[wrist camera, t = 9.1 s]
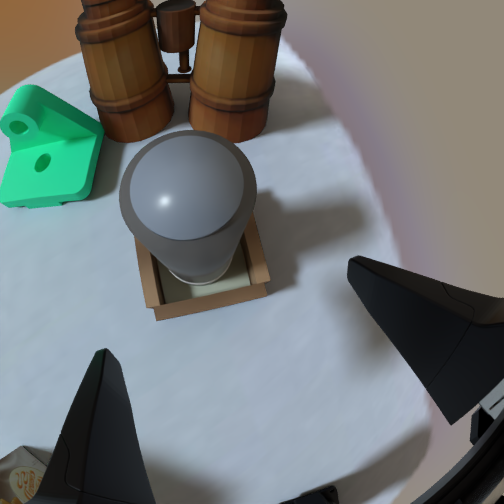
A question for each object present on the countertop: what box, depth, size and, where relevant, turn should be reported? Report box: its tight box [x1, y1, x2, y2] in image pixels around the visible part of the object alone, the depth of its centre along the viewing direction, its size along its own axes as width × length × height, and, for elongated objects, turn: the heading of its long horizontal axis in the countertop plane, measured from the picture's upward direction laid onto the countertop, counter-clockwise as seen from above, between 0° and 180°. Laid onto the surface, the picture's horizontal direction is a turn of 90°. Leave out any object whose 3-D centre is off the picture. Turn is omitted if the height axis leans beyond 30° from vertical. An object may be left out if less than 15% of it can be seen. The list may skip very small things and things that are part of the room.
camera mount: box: [0, 85, 105, 209], centre depth 17 cm, size 12×8×10 cm, turn 92°
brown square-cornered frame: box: [134, 211, 271, 321], centre depth 21 cm, size 14×9×3 cm, turn 14°
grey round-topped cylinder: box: [119, 130, 257, 286], centre depth 15 cm, size 5×5×13 cm
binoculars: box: [75, 0, 287, 143], centre depth 16 cm, size 18×8×20 cm, turn 90°
